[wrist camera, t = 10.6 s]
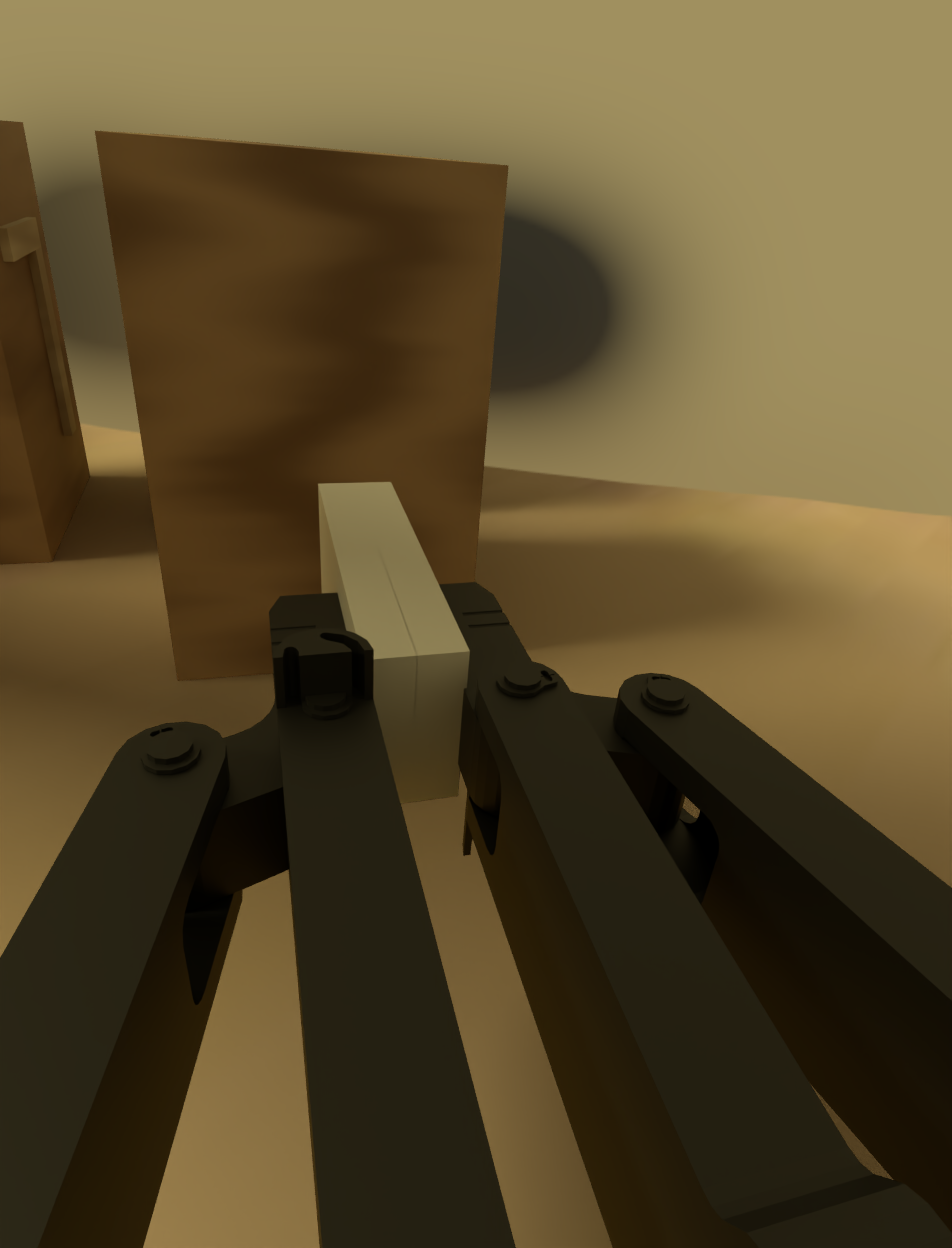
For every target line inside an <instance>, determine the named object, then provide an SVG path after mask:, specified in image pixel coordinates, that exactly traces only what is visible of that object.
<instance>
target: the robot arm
mask: <svg viewBox="0 0 952 1248" xmlns="http://www.w3.org/2000/svg"><path fill="white" fill-rule="evenodd" d="M318 495H319V525H320V556H321V586H322V593H320V594H304V595H288V596H280V597H279V598H278V599H277V601H276V602H275V604H274V605H273V606H272V608H271V609H270V611H269V622H270V635H271V649H272V662H273V676H274V689H275V703H274V706H273V708H272V709H271V711H270V713H269V714H268V715H267V716H266V717H265V718H264V719H263V720H262V721H261V722H259V723H257V724H256V725H254V726H253V727H251V728H250V729H247V730H245V731H242V732H240V733H237V734H235V735H232V736H229V737H225V738H222V737H221V735H220V733H219V732H217V731H215V730H214V729H212V728H210V727H208V726H206V725H203V724H197V723H191V722H176V723H165V724H162V725H159V726H155V727H152V728H149V729H145V730H144V731H142V732H140V733H139V734H137V735H135V736H134V737H132V738H130V739H128V740H127V742H126V743H125V744H124V745H123V746H122V747H121V748H120V749H119V751H118V752H117V753H116V755H115V756H114V758H113V760H112V762H111V763H110V765H109V767H108V769H107V771H106V772H105V774H104V776H103V778H102V779H101V781H100V783H99V785H98V786H97V788H96V790H95V792H94V793H93V795H92V797H91V799H90V800H89V802H88V804H87V806H86V808H85V809H84V811H83V813H82V815H81V816H80V818H79V820H78V822H77V823H76V825H75V827H74V829H73V830H72V832H71V834H70V836H69V837H68V839H67V841H66V843H65V845H64V846H63V848H62V850H61V852H60V853H59V855H58V857H57V859H56V860H55V862H54V864H53V866H52V867H51V869H50V871H49V873H48V875H47V876H46V878H45V880H44V882H43V883H42V885H41V887H40V889H39V890H38V892H37V894H36V896H35V897H34V899H33V901H32V903H31V904H30V906H29V908H28V910H27V912H26V913H25V915H24V917H23V919H22V920H21V922H20V924H19V926H18V927H17V929H16V931H15V933H14V934H13V936H12V938H11V940H10V941H9V943H8V945H7V947H6V949H5V950H4V952H3V954H2V956H1V957H0V1248H143V1246H144V1242H145V1239H146V1235H147V1232H148V1228H149V1225H150V1221H151V1218H152V1214H153V1211H154V1207H155V1203H156V1200H157V1196H158V1193H159V1189H160V1186H161V1182H162V1179H163V1175H164V1172H165V1168H166V1165H167V1161H168V1158H169V1154H170V1151H171V1147H172V1144H173V1140H174V1137H175V1133H176V1130H177V1126H178V1123H179V1119H180V1116H181V1112H182V1109H183V1105H184V1102H185V1098H186V1095H187V1091H188V1088H189V1084H190V1081H191V1077H192V1074H193V1070H194V1067H195V1063H196V1060H197V1056H198V1053H199V1049H200V1046H201V1042H202V1039H203V1035H204V1032H205V1028H206V1025H207V1021H208V1018H209V1014H210V1011H211V1007H212V1004H213V1000H214V997H215V993H216V990H217V986H218V983H219V979H220V976H221V972H222V969H223V965H224V962H225V958H226V955H227V951H228V948H229V944H230V941H231V937H232V934H233V930H234V927H235V923H236V920H237V916H238V913H239V909H240V906H241V902H242V891H243V889H245V888H247V887H249V886H252V885H254V884H256V883H258V882H261V881H263V880H265V879H268V878H270V877H272V876H275V875H277V874H279V873H282V872H284V871H286V870H289V880H290V892H291V904H292V916H293V928H294V941H295V953H296V965H297V977H298V989H299V1001H300V1013H301V1026H302V1038H303V1050H304V1062H305V1074H306V1086H307V1098H308V1111H309V1123H310V1135H311V1147H312V1159H313V1171H314V1183H315V1195H316V1208H317V1220H318V1232H319V1244H320V1248H516V1247H515V1244H514V1240H513V1236H512V1232H511V1228H510V1224H509V1220H508V1217H507V1213H506V1209H505V1205H504V1201H503V1197H502V1193H501V1190H500V1186H499V1182H498V1178H497V1174H496V1170H495V1166H494V1162H493V1159H492V1155H491V1151H490V1147H489V1143H488V1139H487V1135H486V1132H485V1128H484V1124H483V1120H482V1116H481V1112H480V1108H479V1105H478V1101H477V1097H476V1093H475V1089H474V1085H473V1081H472V1078H471V1074H470V1070H469V1066H468V1062H467V1058H466V1054H465V1051H464V1047H463V1043H462V1039H461V1035H460V1031H459V1027H458V1024H457V1020H456V1016H455V1012H454V1008H453V1004H452V1000H451V997H450V993H449V989H448V985H447V981H446V977H445V973H444V969H443V966H442V962H441V958H440V954H439V950H438V946H437V942H436V939H435V935H434V931H433V927H432V923H431V919H430V915H429V912H428V908H427V904H426V900H425V896H424V892H423V888H422V885H421V881H420V877H419V873H418V869H417V865H416V861H415V858H414V854H413V850H412V846H411V842H410V838H409V834H408V831H407V827H406V823H405V819H404V815H403V811H402V807H401V804H402V803H410V802H417V801H424V800H432V799H439V798H447V797H454V796H458V789H459V777H460V771H461V774H462V776H463V779H464V782H465V785H466V787H467V801H466V812H465V823H464V835H463V856H465V855H470V853H471V843H472V840H474V843H475V846H476V849H477V852H478V855H479V858H480V861H481V864H482V866H483V869H484V872H485V875H486V878H487V881H488V884H489V887H490V890H491V893H492V896H493V899H494V902H495V904H496V907H497V910H498V913H499V916H500V919H501V922H502V925H503V928H504V931H505V934H506V937H507V940H508V943H509V945H510V948H511V951H512V954H513V957H514V960H515V963H516V966H517V969H518V972H519V975H520V978H521V981H522V983H523V986H524V989H525V992H526V995H527V998H528V1001H529V1004H530V1007H531V1010H532V1013H533V1016H534V1019H535V1021H536V1024H537V1027H538V1030H539V1033H540V1036H541V1039H542V1042H543V1045H544V1048H545V1051H546V1054H547V1057H548V1059H549V1062H550V1065H551V1068H552V1071H553V1074H554V1077H555V1080H556V1083H557V1086H558V1089H559V1092H560V1095H561V1097H562V1100H563V1103H564V1106H565V1109H566V1112H567V1115H568V1118H569V1121H570V1124H571V1127H572V1130H573V1133H574V1135H575V1138H576V1141H577V1144H578V1147H579V1150H580V1153H581V1156H582V1159H583V1162H584V1165H585V1168H586V1171H587V1174H588V1176H589V1179H590V1182H591V1185H592V1188H593V1191H594V1194H595V1197H596V1200H597V1203H598V1206H599V1209H600V1212H601V1214H602V1217H603V1220H604V1223H605V1226H606V1229H607V1232H608V1235H609V1238H610V1241H611V1244H612V1247H613V1248H952V888H951V887H950V886H948V885H947V884H946V883H945V882H943V881H942V880H941V879H940V878H938V877H937V876H936V875H934V874H933V873H932V872H931V871H929V870H928V869H927V868H926V867H924V866H923V865H922V864H920V863H919V862H918V861H917V860H915V859H914V858H913V857H912V856H910V855H909V854H908V853H907V852H905V851H904V850H903V849H901V848H900V847H899V846H898V845H896V844H895V843H894V842H893V841H891V840H890V839H889V838H887V837H886V836H885V835H884V834H882V833H881V832H880V831H879V830H877V829H876V828H875V827H873V826H872V825H871V824H870V823H868V822H867V821H866V820H865V819H863V818H862V817H861V816H859V815H858V814H857V813H856V812H854V811H853V810H852V809H851V808H849V807H848V806H847V805H845V804H844V803H843V802H842V801H840V800H839V799H838V798H837V797H835V796H834V795H833V794H831V793H830V792H829V791H828V790H826V789H825V788H824V787H823V786H821V785H820V784H819V783H817V782H816V781H815V780H814V779H812V778H811V777H810V776H809V775H807V774H806V773H805V772H804V771H802V770H801V769H800V768H798V767H797V766H796V765H795V764H793V763H792V762H791V761H790V760H788V759H787V758H786V757H784V756H783V755H782V754H781V753H779V752H778V751H777V750H776V749H774V748H773V747H772V746H770V745H769V744H768V743H767V742H765V741H764V740H763V739H762V738H760V737H759V736H758V735H756V734H755V733H754V732H753V731H751V730H750V729H749V728H748V727H746V726H745V725H744V724H742V723H741V722H740V721H739V720H737V719H736V718H735V717H734V716H732V715H731V714H730V713H728V712H727V711H726V710H725V709H723V708H722V707H721V706H720V705H718V704H717V703H716V702H715V701H713V700H712V699H711V698H709V697H708V696H707V695H706V694H704V693H703V692H702V691H701V690H699V689H698V688H696V687H695V686H693V685H691V684H690V683H688V682H686V681H684V680H682V679H679V678H676V677H673V676H670V675H665V674H655V673H647V674H639V675H635V676H633V677H631V678H629V679H627V680H625V681H624V682H623V684H622V686H621V687H620V689H619V693H618V698H609V697H600V696H591V695H584V694H579V693H574V692H571V691H570V690H569V688H568V686H567V685H566V683H565V682H564V680H563V679H562V678H561V677H560V676H559V675H558V674H557V673H556V672H555V671H554V670H552V669H550V668H548V667H546V666H544V665H543V664H540V663H536V662H532V661H531V659H530V657H529V656H528V654H527V652H526V650H525V649H524V647H523V645H522V643H521V642H520V640H519V638H518V636H517V635H516V633H515V631H514V630H513V628H512V626H511V625H509V621H508V619H507V617H506V616H505V614H504V613H502V609H501V607H500V605H499V603H498V602H497V600H496V598H495V597H494V595H493V594H492V593H490V592H489V591H487V590H486V589H484V588H483V587H481V586H480V585H479V584H477V583H476V582H468V583H451V584H438V582H437V580H436V578H435V575H434V573H433V571H432V569H431V567H430V565H429V563H428V560H427V558H426V556H425V554H424V552H423V550H422V548H421V545H420V543H419V541H418V539H417V537H416V535H415V533H414V530H413V528H412V526H411V524H410V522H409V520H408V518H407V515H406V513H405V511H404V509H403V507H402V505H401V503H400V500H399V498H398V496H397V494H396V492H395V490H394V488H393V485H392V483H391V482H365V483H325V484H318ZM685 796H686V797H687V798H688V799H689V800H690V801H691V802H692V803H693V804H694V805H695V806H696V807H697V808H698V809H699V810H700V813H699V817H698V818H694V817H693V816H692V815H690V814H689V813H688V812H687V811H686V810H685V809H684V808H683V803H684V800H685ZM810 1084H811V1085H812V1086H813V1087H814V1088H815V1090H816V1091H817V1092H818V1093H819V1094H820V1095H821V1096H822V1098H823V1099H824V1100H825V1101H826V1102H827V1103H828V1105H829V1106H830V1107H831V1108H832V1109H833V1110H834V1111H835V1113H836V1114H837V1115H838V1116H839V1117H840V1118H841V1120H842V1121H843V1122H844V1123H845V1124H846V1125H847V1126H848V1128H849V1129H850V1130H851V1131H852V1132H853V1133H854V1134H855V1136H856V1137H857V1138H858V1139H859V1140H860V1141H861V1143H862V1144H863V1145H864V1146H865V1147H866V1148H867V1149H868V1151H869V1152H870V1153H871V1154H872V1155H873V1156H874V1158H875V1159H876V1160H877V1161H878V1162H879V1163H880V1164H881V1166H882V1167H883V1168H884V1169H885V1170H886V1171H887V1173H888V1174H889V1175H890V1176H891V1177H892V1178H893V1179H894V1180H891V1179H888V1178H884V1177H881V1176H878V1175H875V1174H873V1173H872V1172H870V1171H869V1170H868V1169H867V1168H866V1167H864V1166H863V1165H862V1164H861V1163H860V1162H859V1160H858V1159H857V1158H856V1156H855V1155H854V1154H853V1152H852V1151H851V1150H850V1148H849V1147H848V1145H847V1144H846V1142H845V1140H844V1139H843V1137H842V1136H841V1134H840V1132H839V1131H838V1129H837V1127H836V1126H835V1124H834V1122H833V1121H832V1119H831V1117H830V1116H829V1114H828V1113H827V1111H826V1109H825V1108H824V1106H823V1104H822V1103H821V1101H820V1099H819V1098H818V1096H817V1095H816V1093H815V1091H814V1090H813V1088H812V1086H811V1085H810Z"/></svg>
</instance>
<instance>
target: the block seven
mask: <svg viewBox="0 0 952 1248" xmlns="http://www.w3.org/2000/svg"><path fill="white" fill-rule="evenodd" d="M89 477H90V474H89V469H88V464H87V458H86V453H85V448H84V443H83V437H82V432H81V427H80V421H79V416H78V411H77V406H76V400H75V396H74V390H73V385H72V379H71V374H70V369H69V364H68V358H67V353H66V348H65V343H64V338H63V332H62V327H61V321H60V316H59V311H58V306H57V300H56V295H55V290H54V285H53V279H52V274H51V269H50V263H49V259H48V253H47V248H46V242H45V237H44V232H43V227H42V221H41V216H40V212H39V206H38V201H37V195H36V190H35V185H34V179H33V174H32V169H31V163H30V158H29V153H28V148H27V143H26V138H25V133H24V127H23V123H22V122H11V121H0V564H17V563H41V562H52V561H53V558H54V556H55V554H56V552H57V549H58V547H59V545H60V543H61V540H62V538H63V536H64V534H65V531H66V529H67V527H68V525H69V522H70V520H71V518H72V516H73V513H74V511H75V509H76V507H77V504H78V502H79V500H80V497H81V495H82V493H83V491H84V488H85V486H86V484H87V482H88V479H89Z"/></svg>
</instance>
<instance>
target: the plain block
mask: <svg viewBox="0 0 952 1248" xmlns="http://www.w3.org/2000/svg"><path fill="white" fill-rule="evenodd" d="M95 135H96V142H97V148H98V155H99V161H100V168H101V175H102V181H103V188H104V195H105V202H106V208H107V215H108V222H109V228H110V235H111V241H112V247H113V255H114V261H115V268H116V275H117V281H118V288H119V294H120V301H121V308H122V314H123V321H124V328H125V334H126V341H127V347H128V354H129V361H130V367H131V374H132V380H133V387H134V394H135V400H136V407H137V414H138V420H139V427H140V434H141V440H142V447H143V454H144V460H145V467H146V474H147V480H148V487H149V493H150V500H151V507H152V513H153V520H154V527H155V533H156V540H157V546H158V553H159V560H160V566H161V573H162V580H163V586H164V593H165V600H166V606H167V613H168V619H169V626H170V633H171V639H172V646H173V653H174V659H175V666H176V673H177V679H178V681H183V680H195V679H208V678H220V677H233V676H245V675H258V674H270V673H273V662H272V649H271V635H270V622H269V611H270V609H271V608H272V606H273V605H274V604H275V602H276V601H277V599H278V598H279V597H280V596H288V595H304V594H320V593H322V586H321V556H320V525H319V495H318V484H325V483H365V482H391V483H392V485H393V488H394V490H395V492H396V494H397V496H398V498H399V500H400V503H401V505H402V507H403V509H404V511H405V513H406V515H407V518H408V520H409V522H410V524H411V526H412V528H413V530H414V533H415V535H416V537H417V539H418V541H419V543H420V545H421V548H422V550H423V552H424V554H425V556H426V558H427V560H428V563H429V565H430V567H431V569H432V571H433V573H434V575H435V578H436V580H437V582H438V584H451V583H468V582H474V580H475V568H476V555H477V543H478V531H479V519H480V506H481V494H482V482H483V470H484V457H485V445H486V433H487V421H488V420H487V419H488V407H489V396H490V384H491V371H492V359H493V347H494V335H495V323H496V310H497V298H498V297H497V296H498V285H499V274H500V261H501V249H502V237H503V224H504V212H505V200H506V187H507V176H508V166H507V165H497V164H487V163H477V162H467V161H457V160H447V159H437V158H426V157H415V156H403V155H391V154H379V153H367V152H356V151H344V150H332V149H320V148H308V147H297V146H285V145H273V144H261V143H249V142H238V141H226V140H214V139H202V138H190V137H178V136H167V135H155V134H143V133H125V132H108V131H95Z"/></svg>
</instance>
